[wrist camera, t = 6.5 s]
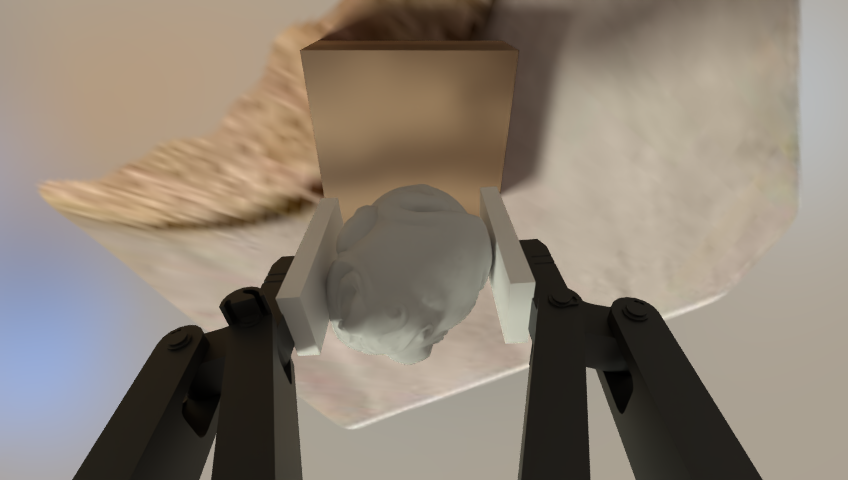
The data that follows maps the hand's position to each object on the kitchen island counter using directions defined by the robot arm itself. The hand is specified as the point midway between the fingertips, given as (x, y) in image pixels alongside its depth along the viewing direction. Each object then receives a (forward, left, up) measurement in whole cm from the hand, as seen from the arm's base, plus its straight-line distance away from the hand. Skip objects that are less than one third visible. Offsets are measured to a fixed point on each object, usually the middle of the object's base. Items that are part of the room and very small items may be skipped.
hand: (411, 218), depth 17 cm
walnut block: (0, 0, -13) cm, 13 cm away
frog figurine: (0, 0, 0) cm, 0 cm away
